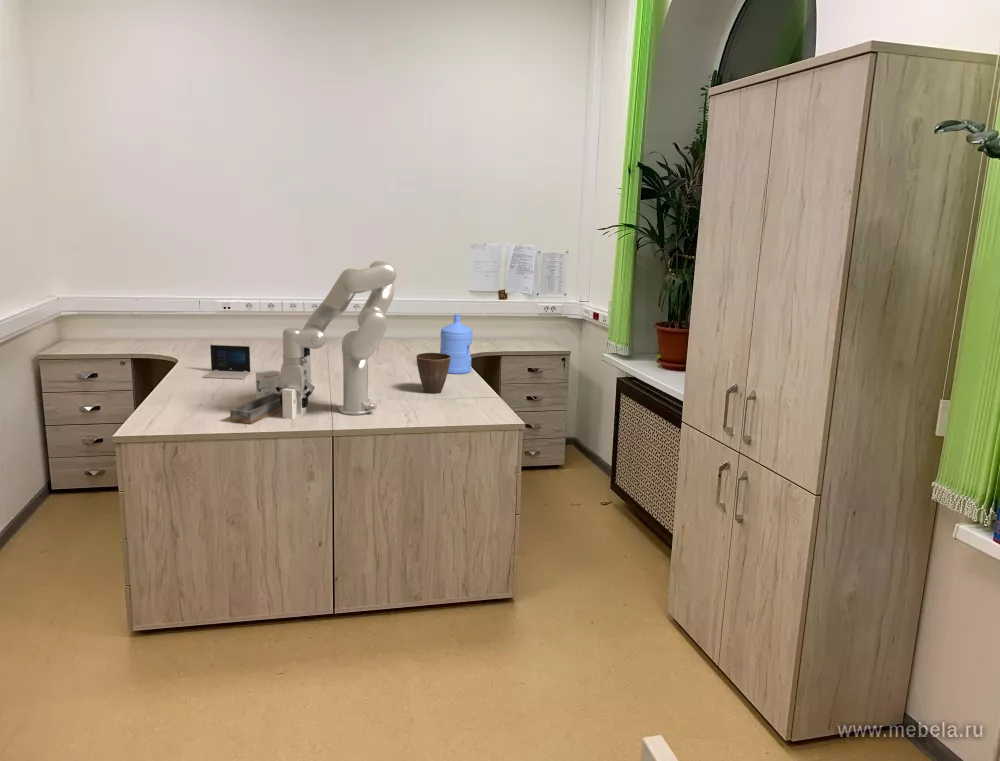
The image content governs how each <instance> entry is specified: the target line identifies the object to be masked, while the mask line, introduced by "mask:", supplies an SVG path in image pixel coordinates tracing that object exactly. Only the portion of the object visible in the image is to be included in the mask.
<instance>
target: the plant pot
mask: <svg viewBox="0 0 1000 761" xmlns="http://www.w3.org/2000/svg"><path fill="white" fill-rule="evenodd" d="M415 357H416V363H417V364H416V365H417V370H418V375H419V379H420V382H421V386H422V388H423V391H424V393H426V394H431V395H432V394H440V393H441V392H442V391H443V388H444V386H445V384H446V380H447V376H448V374H449V373H448V369H449V364H450V358H451V356H450V355H447V354H442V353H440V352H424V353H418V354H417V355H416V356H415Z"/></svg>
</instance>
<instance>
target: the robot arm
mask: <svg viewBox="0 0 1000 761" xmlns="http://www.w3.org/2000/svg"><path fill="white" fill-rule="evenodd" d="M396 279H397V271H396V268H395V267H394V266H393V265H391V263H389V262H385V261H382V260H375V261H373V262H372V263H370V265H369V267H366V268H362V269H356V268H346V269H344V270H343V271H342V272H341V274H340V275H339V277H338V278H337V280H336V282H335V283H334V284H333V286H332V288H331V289H330V290H329V292H328V294H327V295H326V297H325V298H324V299H323V301H322V302H321V303H320V304H319V305H318V306H317V307H316V309H315V310H314V311H313V313H312V314H311V316H310V317H309V318H308V319H307V321H306V323H305V325H304V326H303V328H302V329H301V328H299V327H287V328H284V329H283V331H282V363H281V368H280V371H279V372H280V379H279V380H277V381H275V382H274V383H273V384H274V386H275V387H276V390H277V391H278V392H279V395H280V402H281V405H283V400H282V390H283V389H285V388H290V389H296V391H297V392H300V393H301V394H302V396H303V398H302V408H305V407H306V408H307V407H308V406H309V397H310V395H312V394H313V391H314V390H315V388H316V387H315V386H314V385H313V384H312V383H309V379H308V371H307V367H306V365H304V363H306V362H307V360H306V359H304V348H309V349H310V350H311V349H312V350H314V349H315V350H318V349H321V348H323V346H325V344H326V341H327V337H326V335H325V333H324V332H325V330H326V328H327V327H328V326H329V325H330V324H331V322H332V321H333V320H334V319H335V318H337V317H339V316H341V315H342V314H343V313H345V311H346V310H347V308H348V307H349V305H350V303H351V302H352V301H353V299H354V297H355V295H356V294H362V293H367V292H370V293H369V296H368V298H367V300H366V302H365V303H364V305H363V307H362V309H361V310H360V312H359V313H358V314H357V321H356V322H357V324H358V326H359V327H358V329H357V330H352V331H349V332H347V333H346V334H345V335H344V336H343V338H342V341H341V353H342V365H343V366H342V369H343V370H342V371H343V372H342V374H343V375H342V376H343V377H342V382H343V384H342V392H343V394H342V395H343V396H342V397H343V398H342V400H343V401H342V402H343V404H342V405H341V406H340V407H339V408H338V409H339V412H340V413H342V414H344V415H352V416H354V415H355V416H358V415H365V414H369V413H371V412H372V411H373V410H374V411H375V410H377V408H378V406H377V403H372V402H371V399H370V398H369V358H370V357H371V356H372V355H373V354H374V352H375V351H376V348H377V347H378V345H379V344H380V342H381V340H382V338H383V337H384V334H385V333H386V331H387V327H388V320H387V316H386V314H387V312H388V309H389V307H390V305H391V304H392V301H393V299H394V297H395V296H394V295H395V281H396ZM279 383H280V386H279Z"/></svg>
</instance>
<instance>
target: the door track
mask: <svg viewBox="0 0 1000 761" xmlns="http://www.w3.org/2000/svg"><path fill="white" fill-rule="evenodd" d="M281 410H282V411H283V405H281V402H280V395H279V393H271V394H269V395H266V396H263V397H261V398H258V399H256V398H255V399H254V400H251V401H249V402H246V403H244V404H241V405H238V406H236V407H233V408H231V409H230V410H229V413H230V422H233V423H238V424H244V425H245V424H246V425H252V424H254V423H256V422H259V421H262V420H263V418H264V419H266V418H268V417H270V416H272V415H271V414H273V415H275V414H277V413H279V412H282V411H281ZM278 411H279V412H278ZM276 412H277V413H276ZM274 413H275V414H274ZM269 415H270V416H269ZM267 416H268V417H267ZM265 417H266V418H265Z"/></svg>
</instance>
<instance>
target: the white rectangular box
mask: <svg viewBox="0 0 1000 761" xmlns="http://www.w3.org/2000/svg"><path fill="white" fill-rule="evenodd" d="M302 398H303V396H302V394H301V393H300V392H297V391H296V389H290V388H285V389H283V390H282V400H283V410H282V419H287V418H289V419H288V420H293V419H296V418H297V416H298V417H300V416H302V415H304V414H306V413H307V407H305V408H302ZM305 412H306V413H305ZM303 413H304V414H303ZM301 414H302V415H301ZM299 415H300V416H299ZM295 417H296V418H295Z"/></svg>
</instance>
